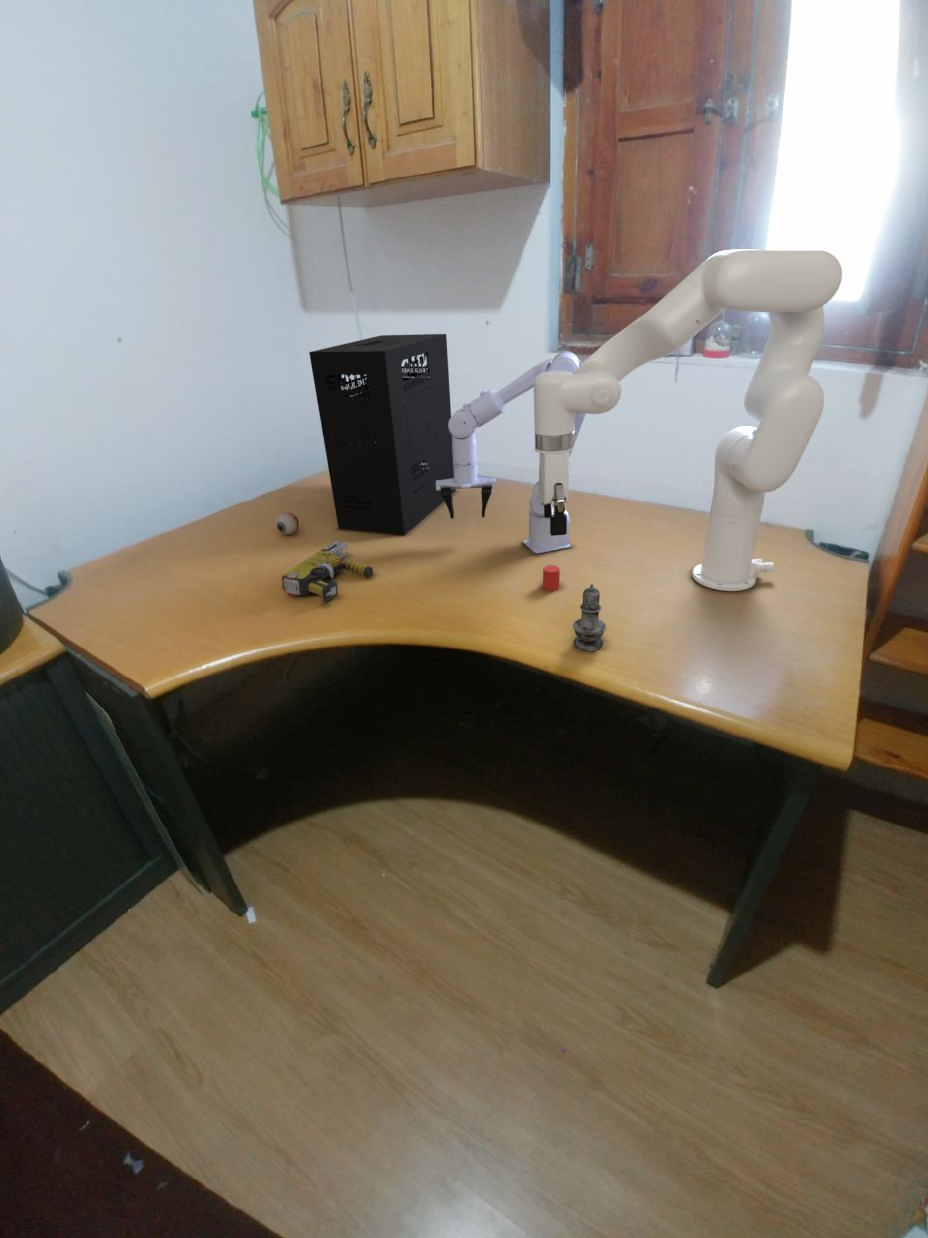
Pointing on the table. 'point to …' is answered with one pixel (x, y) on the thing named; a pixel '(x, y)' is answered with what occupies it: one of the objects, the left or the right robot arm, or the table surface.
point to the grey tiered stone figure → (589, 622)
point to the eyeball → (287, 523)
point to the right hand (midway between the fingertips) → (555, 525)
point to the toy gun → (321, 572)
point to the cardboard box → (385, 429)
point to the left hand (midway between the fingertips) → (467, 516)
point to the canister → (551, 577)
